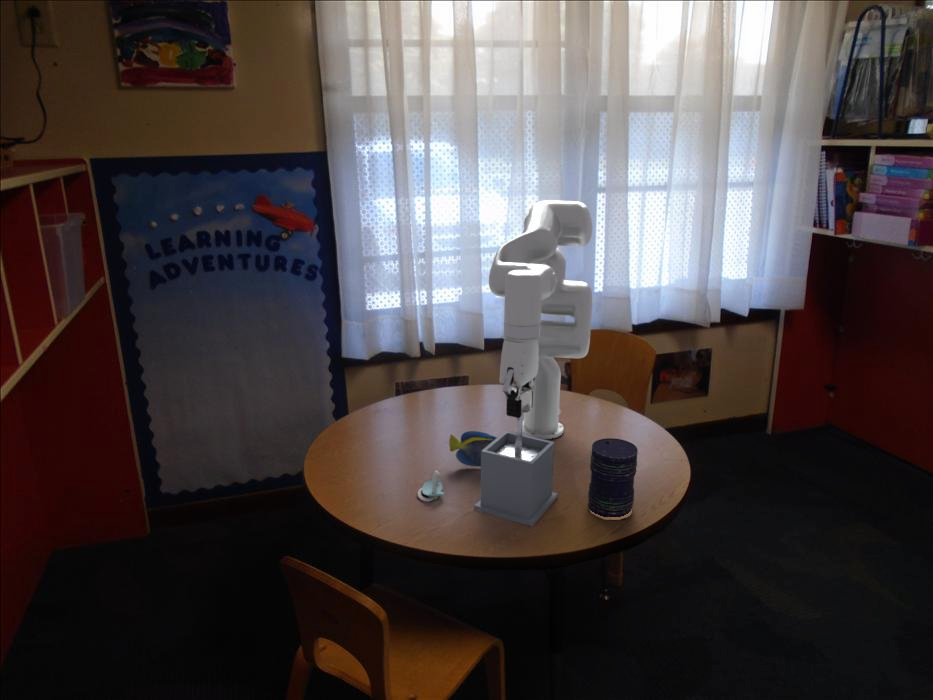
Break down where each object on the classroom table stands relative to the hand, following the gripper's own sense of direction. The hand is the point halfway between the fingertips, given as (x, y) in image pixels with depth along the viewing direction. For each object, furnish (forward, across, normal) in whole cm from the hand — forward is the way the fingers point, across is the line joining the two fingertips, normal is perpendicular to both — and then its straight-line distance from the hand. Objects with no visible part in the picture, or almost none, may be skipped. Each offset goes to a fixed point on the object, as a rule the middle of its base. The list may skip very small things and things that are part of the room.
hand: (519, 410), depth 147 cm
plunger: (+11, 0, 0) cm, 11 cm away
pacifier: (+23, +7, -19) cm, 30 cm away
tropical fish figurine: (+23, -11, -15) cm, 29 cm away
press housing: (+22, 0, 0) cm, 22 cm away
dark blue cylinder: (+23, -8, +19) cm, 31 cm away
